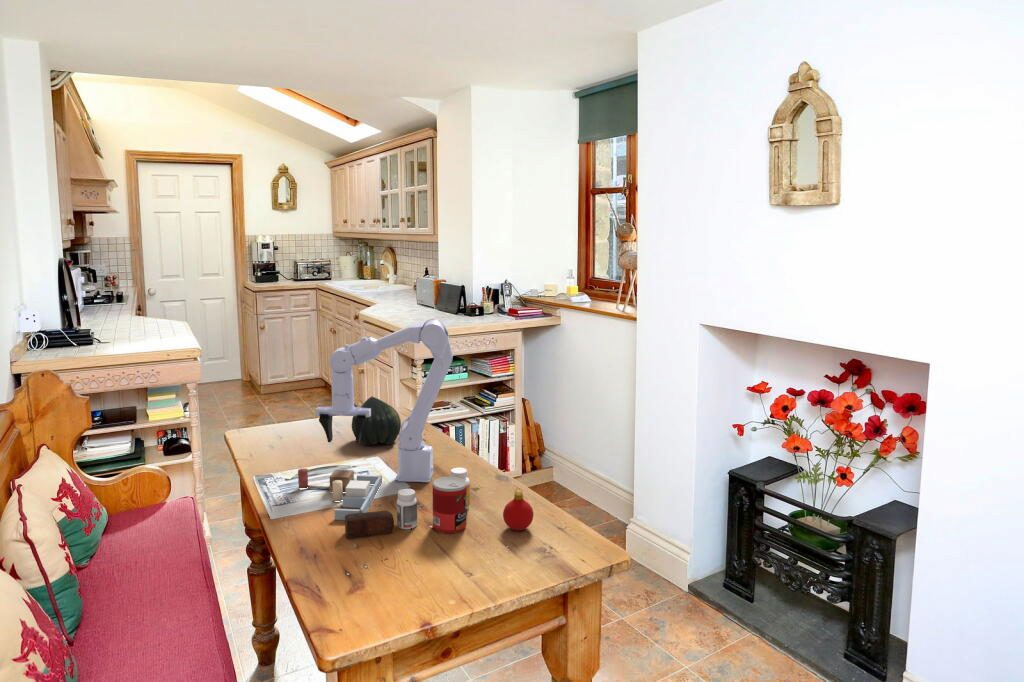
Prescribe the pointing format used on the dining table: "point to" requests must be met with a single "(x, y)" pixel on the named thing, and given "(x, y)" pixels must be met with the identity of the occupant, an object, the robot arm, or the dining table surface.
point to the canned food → (449, 504)
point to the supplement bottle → (463, 474)
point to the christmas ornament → (518, 513)
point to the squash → (379, 423)
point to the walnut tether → (336, 475)
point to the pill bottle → (406, 509)
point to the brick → (368, 524)
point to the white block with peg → (350, 489)
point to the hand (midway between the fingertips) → (344, 441)
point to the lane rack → (359, 498)
